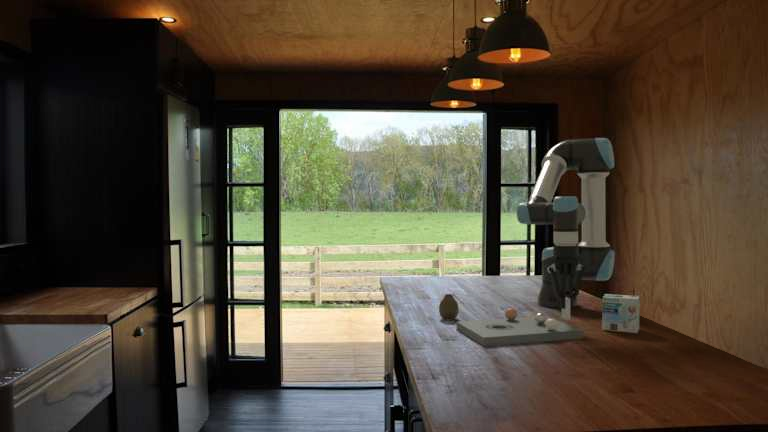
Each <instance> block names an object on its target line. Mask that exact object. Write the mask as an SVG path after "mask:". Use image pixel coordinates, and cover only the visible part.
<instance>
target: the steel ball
mask: <svg viewBox="0 0 768 432" xmlns="http://www.w3.org/2000/svg"><path fill="white" fill-rule="evenodd" d="M546 316H547V315H545V314H544V313H542V312H541V313H540V312H539V313H537V314H535V316H534V317H535V321H536V323H538V324H544V323H545V322H546Z"/></svg>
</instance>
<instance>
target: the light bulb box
mask: <svg viewBox="0 0 768 432" xmlns="http://www.w3.org/2000/svg"><path fill="white" fill-rule="evenodd" d="M601 301H602V307H601V308H602V309H601V313H602V314H601V315H602V317H601V325H602V326H601V330H602V331H611V332H619V333H620V332H623V333H632V334H638V332H639V330H640V295H626V294H611V293H604V295H603V296H602V300H601Z"/></svg>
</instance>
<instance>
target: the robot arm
mask: <svg viewBox="0 0 768 432" xmlns="http://www.w3.org/2000/svg"><path fill="white" fill-rule="evenodd" d="M542 158H543V159H542V161H541V165H540V166H541V171H540V173H539V175H538V177H537V179H536V182H535V184H534V187H533V189H532V191H531V194H530V197H529V199H528V200H527V202H525V201H524V202H520V203H518V205H517V208H516V219H517V221H518V222H519V224H521V225H522V224H523V225H553V226H552V227H553V229H552V230H553V238H552V239H553V244H554V246H552V247H545V248H544V249H543V250H542V253H541V288H540V290H539V294H538V295H537V305H539V306H542V307H546V308H556V309H559V308H560V309H561V318H562V319H564V320H571V309H573V308H574V307H578V296H579V293H580V288H581V284H582V280H585V281H586V280H587V281H596V282H597V281H608V280H609V279H610V278H611V277H612V275H613V271H614V267H615V266H614V265H615V258H616V257H615V251H614V250H612V249H611V245H610V243H608V242H607V241H606V235H607V232H606V228H607V227H606V222H607V221H606V219H607V218H606V178H607V177H608V176H609V175H610V171H611V170H610V169H614V168H615V155H614V150H613V145H612V142H611V141H610V139H609V138H606V137H594V138H592V137H591V138H579V139H578V138H577V139H567V140H563V141H560V142H559V143H557V144H555V145H554V146H552V147H551V148H550V149H549V150H548V151H547V152H546V153H545V155H544V157H542ZM572 170H573V171H574V170H576V171H577V172H576V174H577V175H578V176H579V178H580V179H581V203H580V202H578V201H579V200H578V197H577V196H575V195H574V196H572V195H571V196H570V195H569V196H555V197H554V195H555V193H556V190H557V188H558V185H559V182H560V180H561V177H562V176H563V175H564V174H565V173H566V172H567V171H572ZM552 200H553V202H552ZM580 224H581V241H580V242H579V225H580Z"/></svg>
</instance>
